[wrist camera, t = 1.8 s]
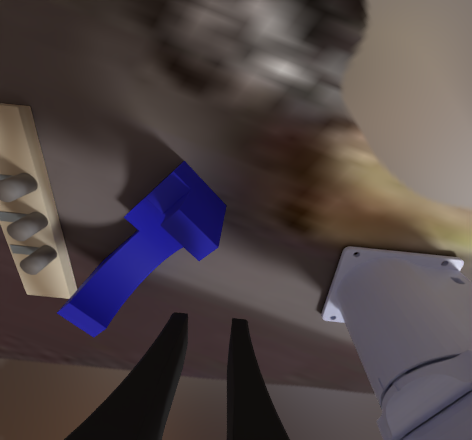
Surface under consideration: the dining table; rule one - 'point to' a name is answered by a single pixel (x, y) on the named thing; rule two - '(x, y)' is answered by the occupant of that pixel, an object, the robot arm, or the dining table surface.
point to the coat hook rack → (31, 208)
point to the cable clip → (149, 246)
